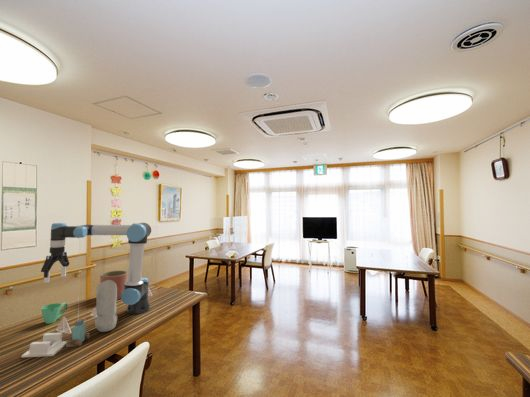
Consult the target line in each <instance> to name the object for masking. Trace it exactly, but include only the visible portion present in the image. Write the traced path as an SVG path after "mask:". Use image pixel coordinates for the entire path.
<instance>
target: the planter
mask: <svg viewBox="0 0 530 397" xmlns="http://www.w3.org/2000/svg"><path fill="white" fill-rule="evenodd" d="M99 276H100V277H99V283H102V282H104V281H106V280H112V281H114V282H115V283H116V285H117V301H119V300H121V294H122V292H123V291H124V283H125V282H126V281H127V278H128V271H126V270H118V269H117V270H110V271H109V270H108V271H105V272H102V273H100V275H99Z"/></svg>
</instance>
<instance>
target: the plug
mask: <svg viewBox="0 0 530 397" xmlns="http://www.w3.org/2000/svg"><path fill="white" fill-rule="evenodd" d="M74 323H75V324H74V325H73V326H72V334H71V335H72V338H71V340H82V343H83V342H84V341H85V340H86V339H85V333H86V327H87V326H86V324H87V323H86V321H85V319H84V318H79V319H77V320H76V321H75V322H74Z"/></svg>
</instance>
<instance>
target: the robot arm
mask: <svg viewBox="0 0 530 397" xmlns="http://www.w3.org/2000/svg"><path fill="white" fill-rule="evenodd" d="M50 227H51V228H50V240H49V241H50V243H49V246H50V247H49V254H50V255H46V257H45V261H44V262H43V265H42V268H41V270H40V272H41V273H43V283H44V284H45V283H47V284H48V283H50V278H51V277H50V276H51V269H52V267H53V266H54V265H55V263H56V262H58V261H59V263H60V265H61V267H60V268H61V269H60V277H66V276H67V268H68V267H69V265H70V261H69V257H68V254H67V251H65V248H66V247H65V246H66V239H67V238H70V239H71V238H73V239H74V238H77V239H80V238H82V239H83V238H85V237H86V236H126V237H127V239H128V241H127V244H128V245H129V258H128V266H127V268H128V270H127V281H126V282H125V283H124V291H123V292H122V294H121V298H120V300H121V301H122V303H123V304H125V305H127V308H126V313H127V314H129V315H139V314H144V313H146V312H148V311H149V310H150V309H151V308H150V307H151V304H150V301H149V298H148V296H149V284H150V283H149V281H150V280H149V277H142V276H143V275H142V274H143V264H144V263H143V262H144V253H145V252H144V251H145V245H147V242H148V237H150V235H151V233H152V227H151V226H150V224H148V223H146V222H139V223H138V222H137V223H132V224H84V225H83V224H82V225H73V226H72V225H71V226H70V225H67V223H66V222H54V223H52V224H51V226H50Z"/></svg>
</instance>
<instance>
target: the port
mask: <svg viewBox="0 0 530 397" xmlns="http://www.w3.org/2000/svg"><path fill="white" fill-rule="evenodd" d="M67 341H68V340H63V332H46V333H44V334H43V337H42V341H33V342H31V343H30V344H29V349H28V350H27V351H26V352H24V353H23V354H22V355H21V356H20V357H21V358H41V357H53V356H55V355H56V354H57V353H58V352H59V351H60V350H62V349H63V348H64V347H66V343H67Z"/></svg>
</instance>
